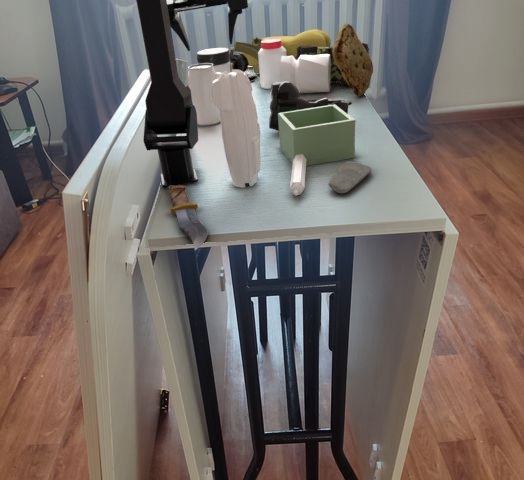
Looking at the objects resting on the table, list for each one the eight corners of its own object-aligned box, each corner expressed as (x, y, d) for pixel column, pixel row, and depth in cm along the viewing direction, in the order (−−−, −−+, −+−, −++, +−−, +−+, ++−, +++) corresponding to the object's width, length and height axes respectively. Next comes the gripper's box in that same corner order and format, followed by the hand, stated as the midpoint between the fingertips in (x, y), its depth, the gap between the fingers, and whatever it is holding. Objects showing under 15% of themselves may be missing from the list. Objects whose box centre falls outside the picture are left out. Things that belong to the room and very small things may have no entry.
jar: (196, 106, 139) (188, 54, 131) (213, 97, 144) (207, 47, 137) (225, 108, 135) (218, 54, 127) (242, 99, 140) (236, 47, 133)
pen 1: (215, 86, 150) (216, 91, 151) (218, 86, 149) (219, 91, 149) (255, 74, 156) (255, 79, 156) (258, 74, 154) (259, 78, 155)
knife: (211, 243, 76) (176, 249, 75) (212, 252, 77) (178, 258, 76) (193, 178, 94) (165, 183, 94) (195, 186, 95) (167, 191, 95)
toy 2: (237, 79, 172) (319, 69, 155) (230, 47, 166) (314, 33, 150) (260, 67, 180) (340, 57, 164) (254, 36, 175) (336, 22, 158)
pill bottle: (256, 85, 151) (252, 41, 144) (280, 80, 153) (277, 36, 146) (267, 90, 145) (264, 44, 138) (293, 85, 147) (290, 39, 140)
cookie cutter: (229, 45, 157) (230, 38, 156) (263, 43, 162) (265, 36, 161) (258, 77, 149) (259, 70, 148) (293, 74, 154) (295, 67, 153)
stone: (348, 157, 95) (375, 164, 93) (347, 165, 96) (373, 172, 95) (323, 182, 87) (352, 190, 86) (322, 190, 88) (351, 199, 87)
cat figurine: (263, 132, 125) (338, 137, 127) (269, 130, 112) (352, 136, 114) (265, 85, 122) (342, 91, 124) (272, 78, 109) (358, 85, 111)
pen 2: (347, 102, 129) (347, 100, 128) (270, 107, 133) (269, 104, 132) (347, 99, 129) (347, 96, 128) (270, 103, 133) (269, 101, 132)
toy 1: (210, 87, 156) (233, 71, 165) (233, 89, 154) (254, 73, 163) (208, 59, 151) (230, 44, 160) (231, 61, 148) (253, 46, 158)
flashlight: (228, 193, 92) (269, 185, 93) (212, 80, 81) (259, 72, 82) (220, 180, 97) (259, 172, 98) (204, 72, 86) (248, 64, 87)
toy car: (295, 88, 143) (301, 80, 151) (366, 85, 139) (369, 78, 146) (294, 48, 137) (300, 42, 145) (368, 44, 133) (371, 38, 141)
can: (218, 125, 124) (210, 68, 116) (191, 126, 125) (182, 70, 117) (225, 117, 128) (218, 62, 121) (199, 118, 130) (191, 63, 122)
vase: (328, 99, 136) (281, 100, 139) (331, 81, 141) (286, 82, 144) (327, 64, 129) (278, 66, 132) (330, 46, 134) (283, 49, 137)
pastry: (372, 102, 139) (382, 98, 137) (336, 92, 126) (346, 87, 124) (362, 33, 137) (372, 28, 135) (324, 15, 124) (335, 9, 122)
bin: (354, 157, 100) (355, 119, 96) (294, 167, 99) (292, 129, 94) (335, 139, 109) (335, 104, 105) (280, 148, 108) (277, 113, 103)
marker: (295, 205, 87) (298, 168, 99) (306, 199, 86) (308, 162, 98) (286, 193, 86) (290, 156, 98) (297, 186, 85) (300, 150, 97)
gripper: (239, -60, 107) (251, 24, 120) (149, -44, 109) (169, 37, 121) (241, -40, 101) (253, 46, 113) (145, -24, 102) (167, 60, 114)
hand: (210, 46), depth 116 cm, fingers open, 9 cm apart
